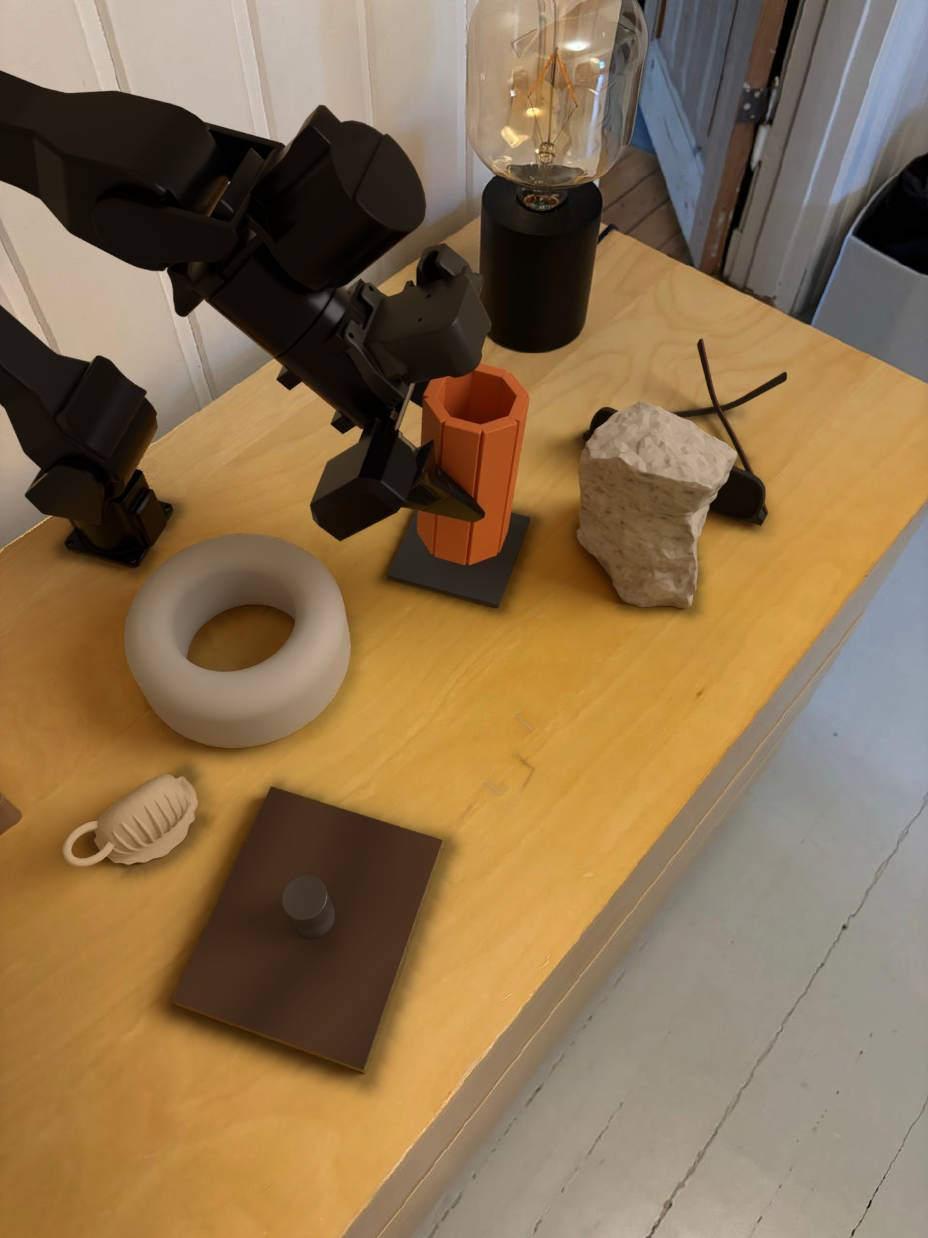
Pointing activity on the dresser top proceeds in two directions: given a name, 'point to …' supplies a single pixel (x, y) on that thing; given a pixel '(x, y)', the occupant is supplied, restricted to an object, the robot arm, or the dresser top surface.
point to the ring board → (313, 970)
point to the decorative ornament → (140, 823)
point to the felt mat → (459, 566)
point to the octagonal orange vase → (474, 457)
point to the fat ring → (254, 696)
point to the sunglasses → (742, 487)
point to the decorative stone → (649, 501)
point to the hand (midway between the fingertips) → (490, 481)
